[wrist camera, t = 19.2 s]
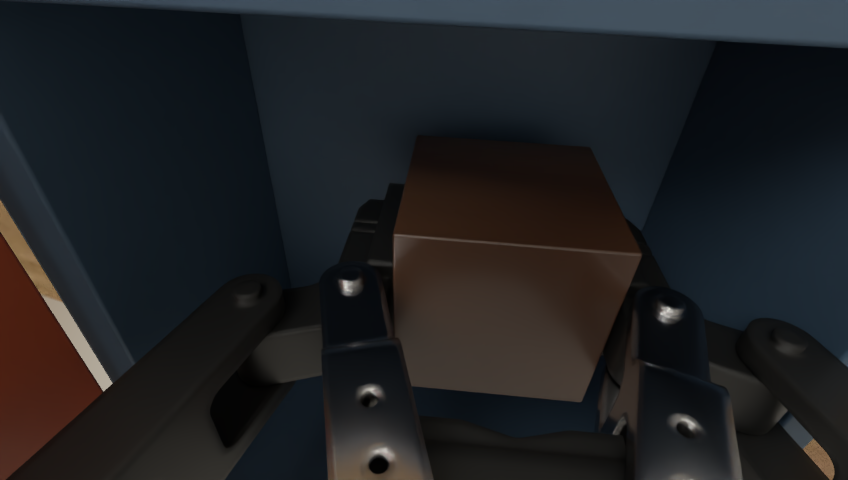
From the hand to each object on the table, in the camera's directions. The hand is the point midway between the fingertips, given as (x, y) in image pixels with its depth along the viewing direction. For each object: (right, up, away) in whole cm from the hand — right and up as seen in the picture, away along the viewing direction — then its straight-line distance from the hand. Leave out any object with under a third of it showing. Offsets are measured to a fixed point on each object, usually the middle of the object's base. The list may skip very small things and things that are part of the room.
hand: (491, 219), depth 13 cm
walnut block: (0, 0, 0) cm, 0 cm away
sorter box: (-1, +2, +3) cm, 4 cm away
